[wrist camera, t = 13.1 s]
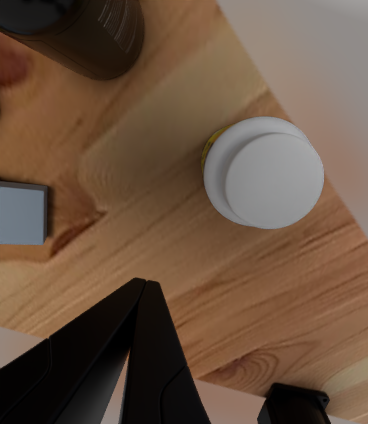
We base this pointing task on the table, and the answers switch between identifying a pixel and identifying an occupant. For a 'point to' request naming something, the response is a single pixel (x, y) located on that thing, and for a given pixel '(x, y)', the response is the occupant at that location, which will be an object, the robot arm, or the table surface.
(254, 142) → the supplement bottle
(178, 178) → the table surface
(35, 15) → the supplement bottle
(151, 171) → the table surface
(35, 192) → the end domino
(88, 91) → the table surface
